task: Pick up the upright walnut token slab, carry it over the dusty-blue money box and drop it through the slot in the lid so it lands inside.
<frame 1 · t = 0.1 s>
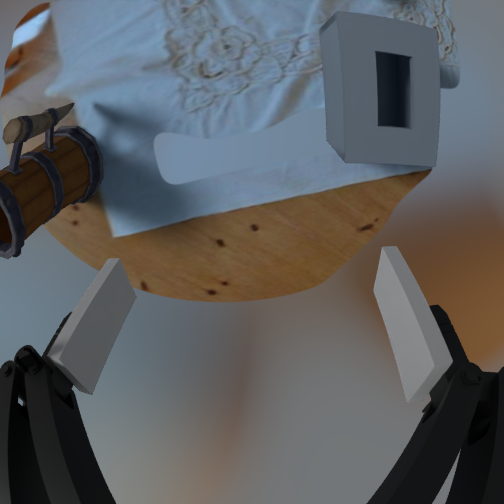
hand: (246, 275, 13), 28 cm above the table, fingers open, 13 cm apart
mug: (73, 151, 38), on the table
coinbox: (363, 86, 30), on the table
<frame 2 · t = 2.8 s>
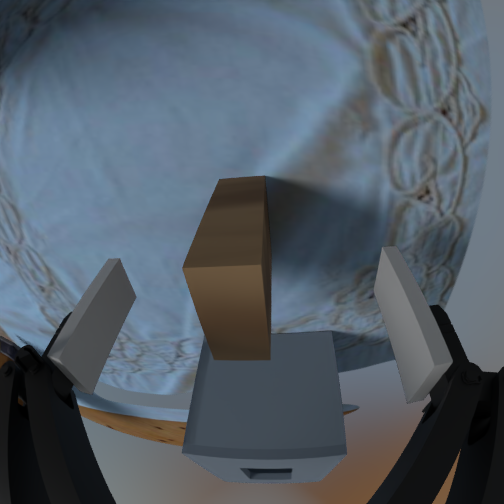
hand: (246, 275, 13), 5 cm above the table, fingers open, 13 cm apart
token: (247, 219, 17), on the table
mug: (20, 354, 35), on the table
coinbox: (271, 378, 28), on the table
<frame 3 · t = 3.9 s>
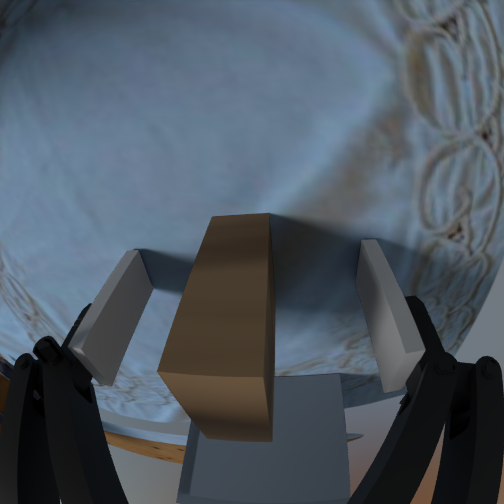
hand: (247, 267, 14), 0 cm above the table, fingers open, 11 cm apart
token: (246, 263, 14), on the table
mug: (13, 371, 32), on the table
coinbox: (273, 414, 25), on the table
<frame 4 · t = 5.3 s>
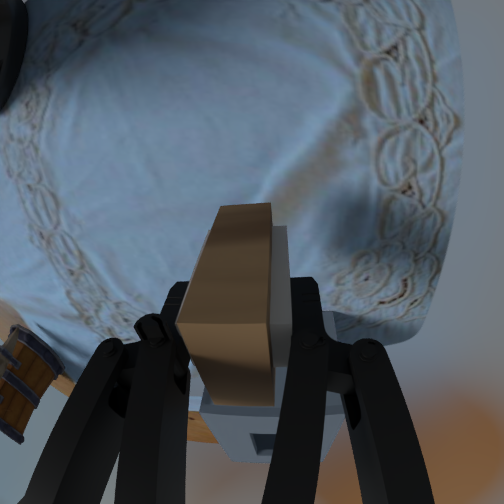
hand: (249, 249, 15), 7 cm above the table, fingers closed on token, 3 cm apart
token: (251, 249, 16), point 6 cm above the table, touching gripper
mug: (35, 343, 39), on the table
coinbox: (279, 360, 31), on the table
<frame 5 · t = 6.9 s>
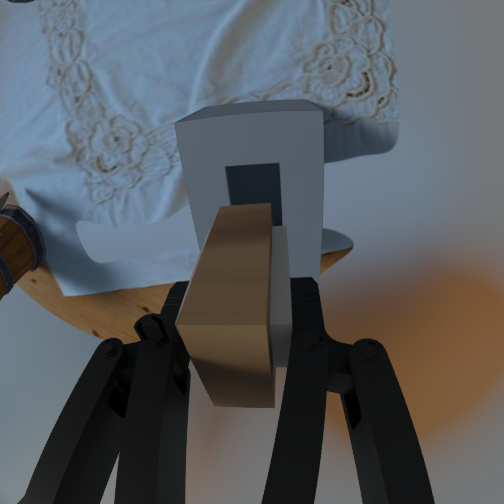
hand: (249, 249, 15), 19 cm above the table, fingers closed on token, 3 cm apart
token: (250, 249, 16), point 19 cm above the table, touching gripper
mug: (20, 226, 39), on the table
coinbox: (260, 168, 32), on the table
when the fingers open (12 cm above the table, at t = 8.8 s): token drops 11 cm, resting on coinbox.
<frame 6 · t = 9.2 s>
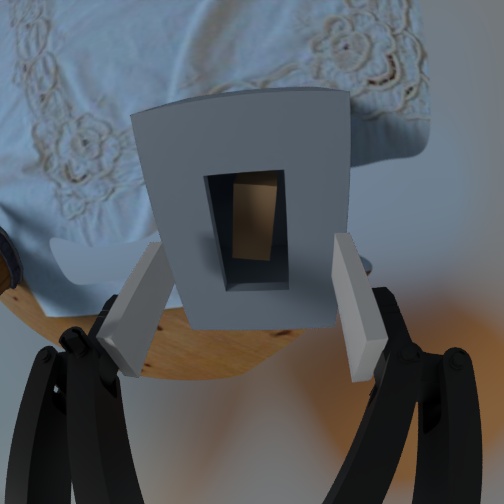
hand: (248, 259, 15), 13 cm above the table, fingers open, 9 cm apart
token: (258, 181, 25), point 1 cm above the table, touching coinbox
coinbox: (259, 175, 25), on the table
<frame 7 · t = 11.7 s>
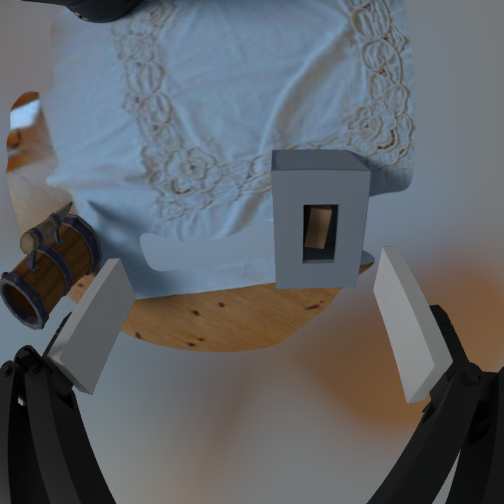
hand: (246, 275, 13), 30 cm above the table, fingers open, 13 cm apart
token: (311, 204, 41), point 1 cm above the table, touching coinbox
mug: (75, 234, 49), on the table
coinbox: (310, 200, 42), on the table
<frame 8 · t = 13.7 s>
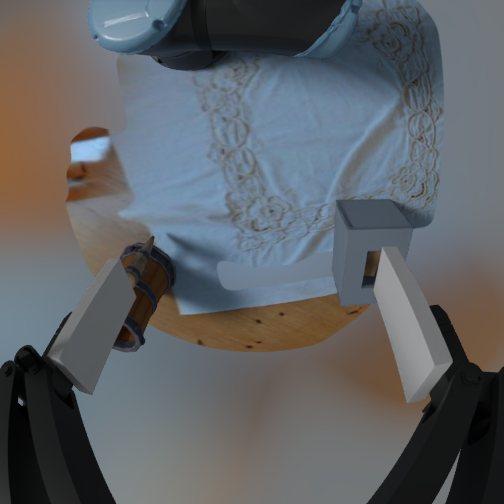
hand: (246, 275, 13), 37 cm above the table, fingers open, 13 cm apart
token: (361, 239, 53), point 1 cm above the table, touching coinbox
mug: (149, 260, 61), on the table
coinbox: (360, 236, 53), on the table
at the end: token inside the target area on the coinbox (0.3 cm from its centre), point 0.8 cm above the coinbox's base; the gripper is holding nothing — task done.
